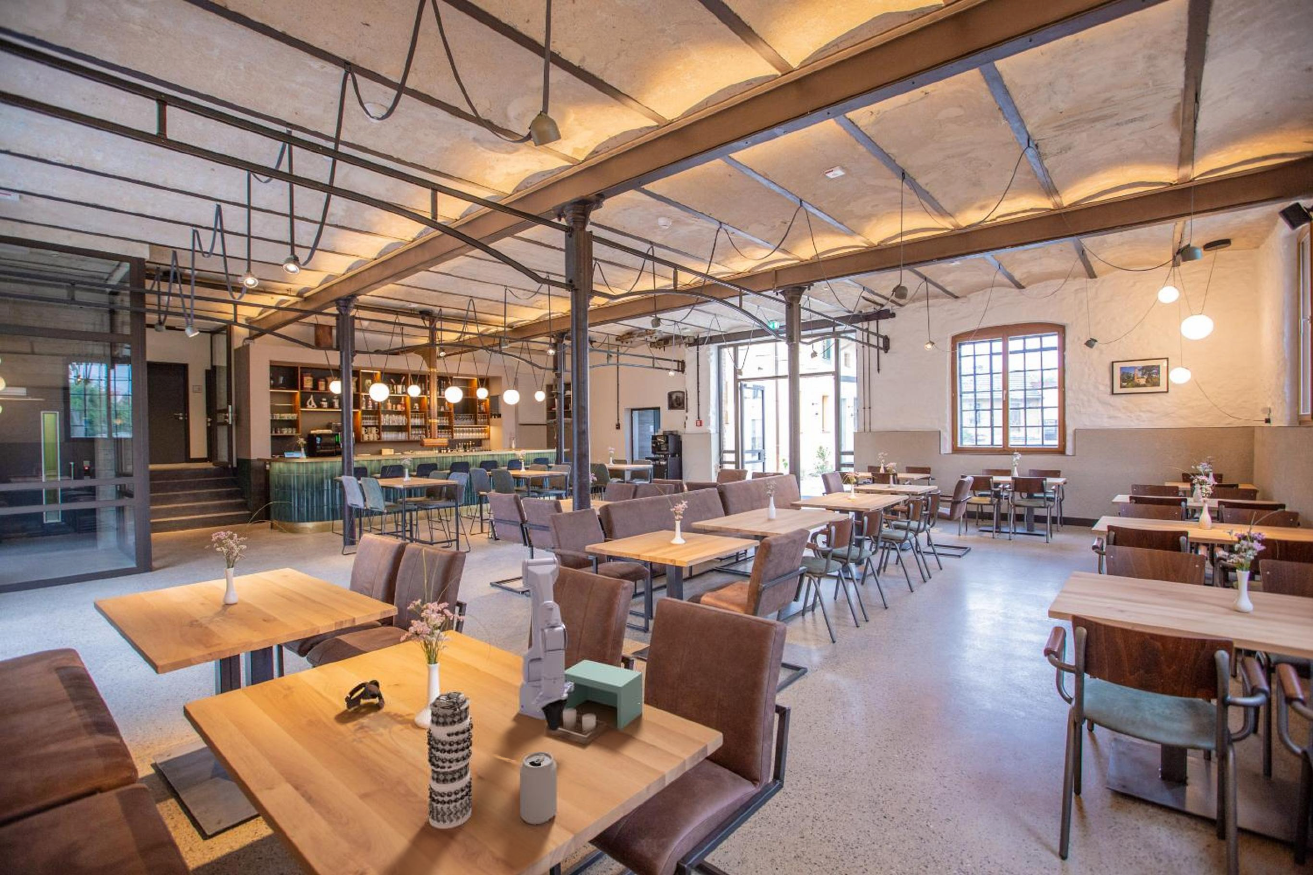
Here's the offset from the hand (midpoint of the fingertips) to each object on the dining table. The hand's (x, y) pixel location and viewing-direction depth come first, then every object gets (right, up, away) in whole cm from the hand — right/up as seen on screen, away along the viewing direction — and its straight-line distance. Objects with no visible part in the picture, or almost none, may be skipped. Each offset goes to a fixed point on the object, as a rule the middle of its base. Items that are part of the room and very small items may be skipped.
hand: (553, 728), depth 152 cm
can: (+1, -6, -26) cm, 27 cm away
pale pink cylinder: (+8, -5, +8) cm, 12 cm away
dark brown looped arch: (-59, -6, +24) cm, 64 cm away
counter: (+11, -5, +19) cm, 22 cm away
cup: (+2, -5, +11) cm, 12 cm away
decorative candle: (-17, -6, -26) cm, 31 cm away
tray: (+5, -5, +8) cm, 11 cm away
